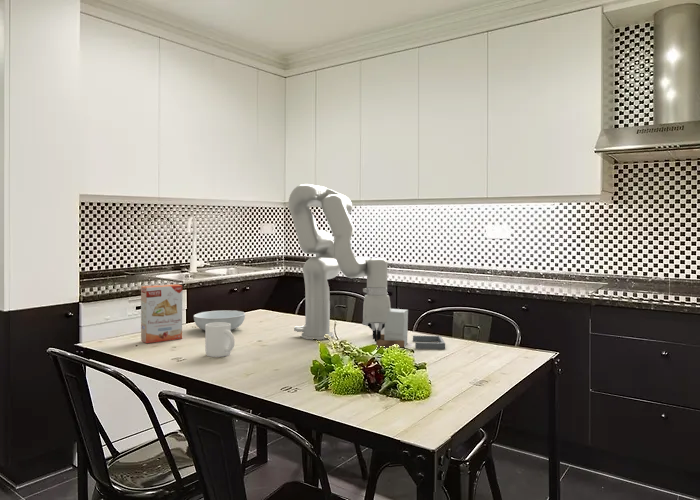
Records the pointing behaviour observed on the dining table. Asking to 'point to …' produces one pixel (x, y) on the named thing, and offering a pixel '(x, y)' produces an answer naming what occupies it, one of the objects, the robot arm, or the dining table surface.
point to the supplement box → (396, 325)
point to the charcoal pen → (429, 345)
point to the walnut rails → (388, 342)
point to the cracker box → (161, 313)
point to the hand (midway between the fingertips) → (376, 340)
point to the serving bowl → (219, 318)
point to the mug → (218, 339)
